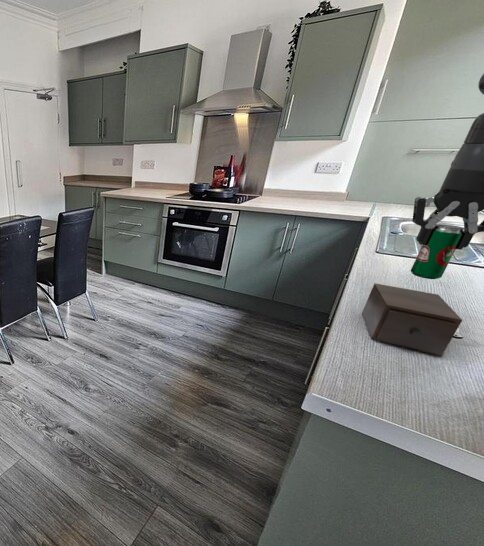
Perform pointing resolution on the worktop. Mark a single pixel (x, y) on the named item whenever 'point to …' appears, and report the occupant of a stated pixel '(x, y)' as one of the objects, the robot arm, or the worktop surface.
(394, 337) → the drawer
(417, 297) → the cabinet
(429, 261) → the soda can
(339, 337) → the worktop surface
